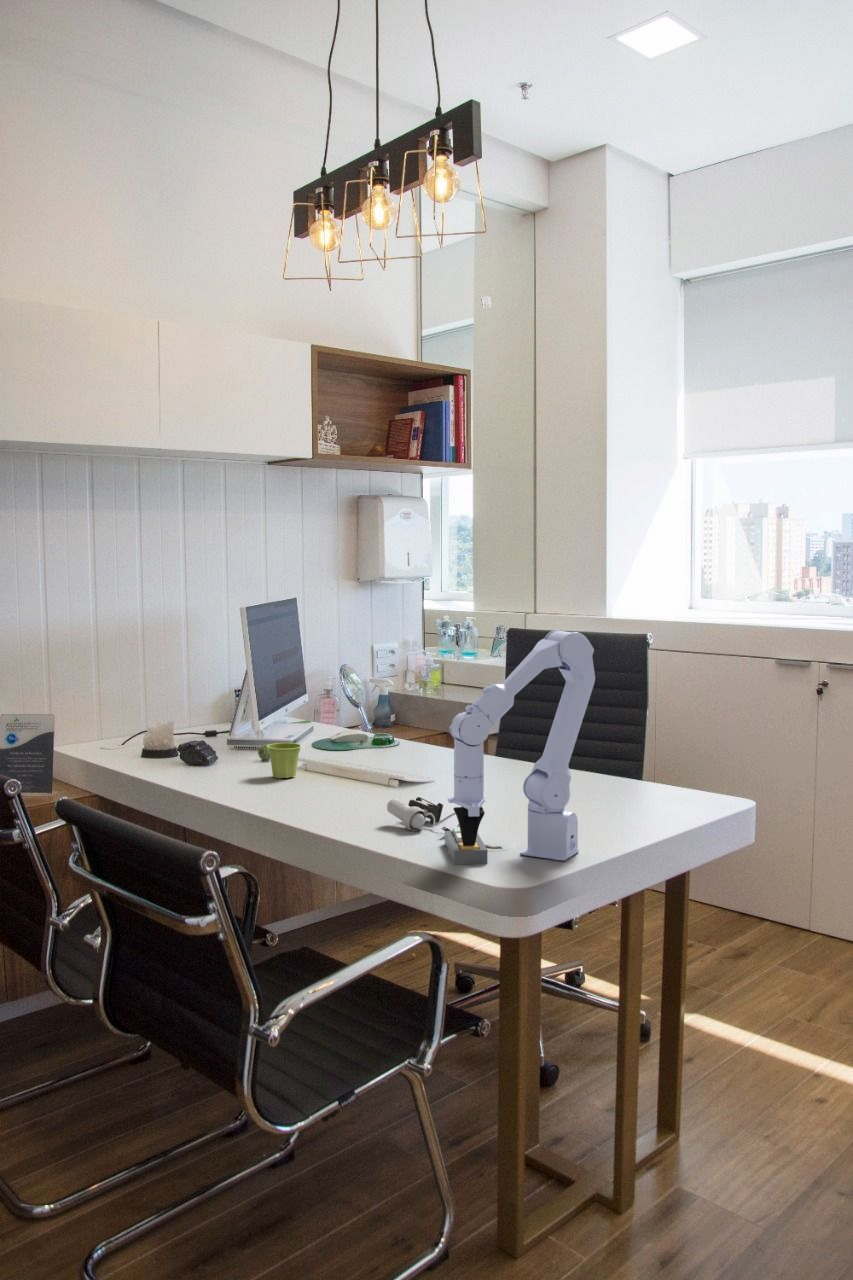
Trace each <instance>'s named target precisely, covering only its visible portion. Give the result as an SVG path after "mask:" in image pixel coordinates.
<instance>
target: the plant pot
mask: <svg viewBox="0 0 853 1280" xmlns="http://www.w3.org/2000/svg"><path fill="white" fill-rule="evenodd" d="M266 748H267V749H268V750H267V751H268V754H269V757H270V764H271V772H272V778H275V777H276V778H275V779H277V778H287V779H288V778H289V779H291V778H290V777H294V776H296V775H297V768H298V759H299V754H300V751H301V749H302V744H300V743H295V742H275V743H269V744H267V745H266ZM294 778H295V777H294Z"/></svg>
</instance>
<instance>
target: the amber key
mask: <svg viewBox="0 0 853 1280" xmlns="http://www.w3.org/2000/svg"><path fill="white" fill-rule="evenodd" d="M459 849H460V850H470V849H479V846H478V844H477V843H476V842H475V845H474V846H464V845H463V843H459Z"/></svg>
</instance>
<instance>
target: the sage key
mask: <svg viewBox="0 0 853 1280" xmlns="http://www.w3.org/2000/svg"><path fill="white" fill-rule="evenodd" d="M452 831H453V837H456V833H461V832H460V826H459V827H457V826H452Z"/></svg>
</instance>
